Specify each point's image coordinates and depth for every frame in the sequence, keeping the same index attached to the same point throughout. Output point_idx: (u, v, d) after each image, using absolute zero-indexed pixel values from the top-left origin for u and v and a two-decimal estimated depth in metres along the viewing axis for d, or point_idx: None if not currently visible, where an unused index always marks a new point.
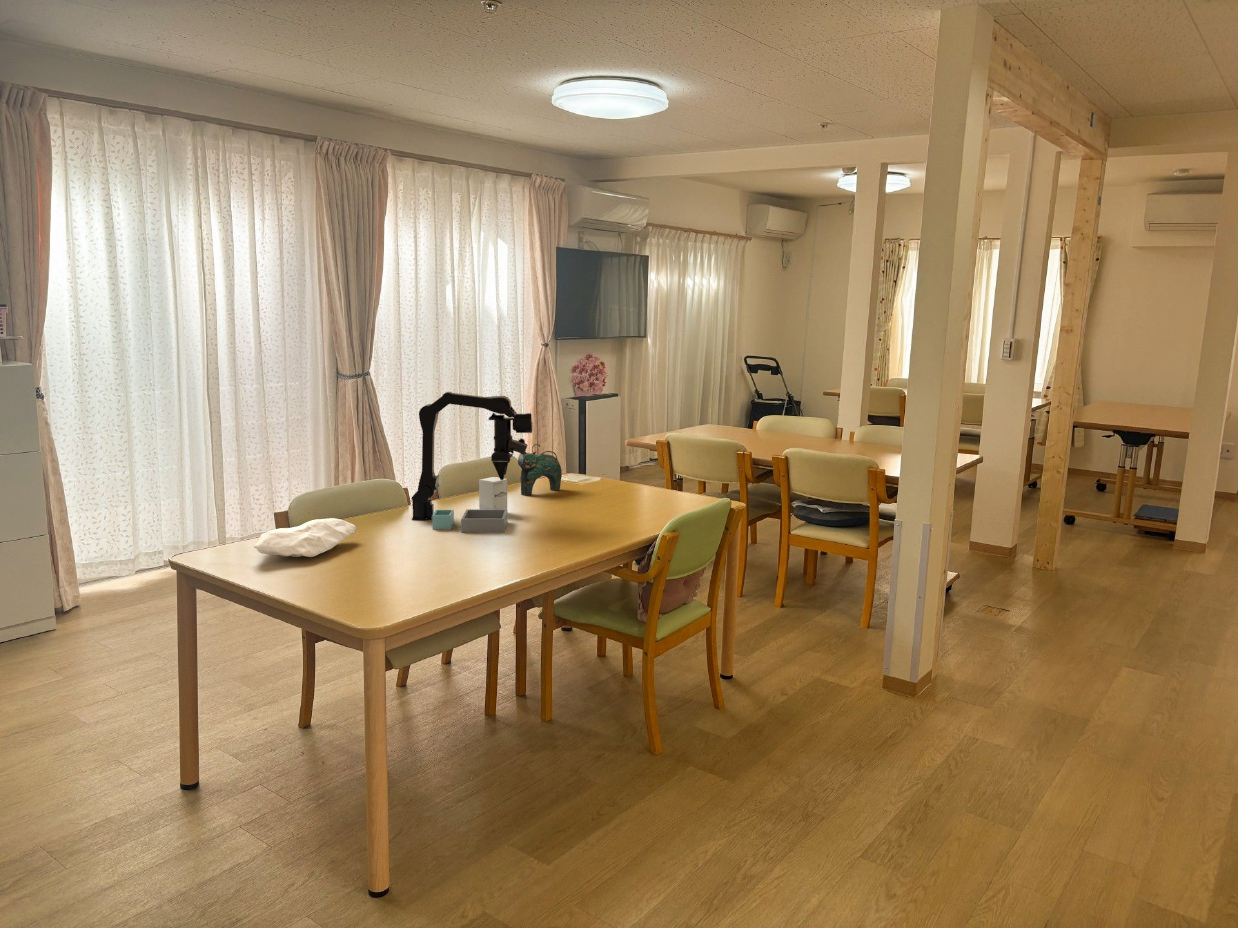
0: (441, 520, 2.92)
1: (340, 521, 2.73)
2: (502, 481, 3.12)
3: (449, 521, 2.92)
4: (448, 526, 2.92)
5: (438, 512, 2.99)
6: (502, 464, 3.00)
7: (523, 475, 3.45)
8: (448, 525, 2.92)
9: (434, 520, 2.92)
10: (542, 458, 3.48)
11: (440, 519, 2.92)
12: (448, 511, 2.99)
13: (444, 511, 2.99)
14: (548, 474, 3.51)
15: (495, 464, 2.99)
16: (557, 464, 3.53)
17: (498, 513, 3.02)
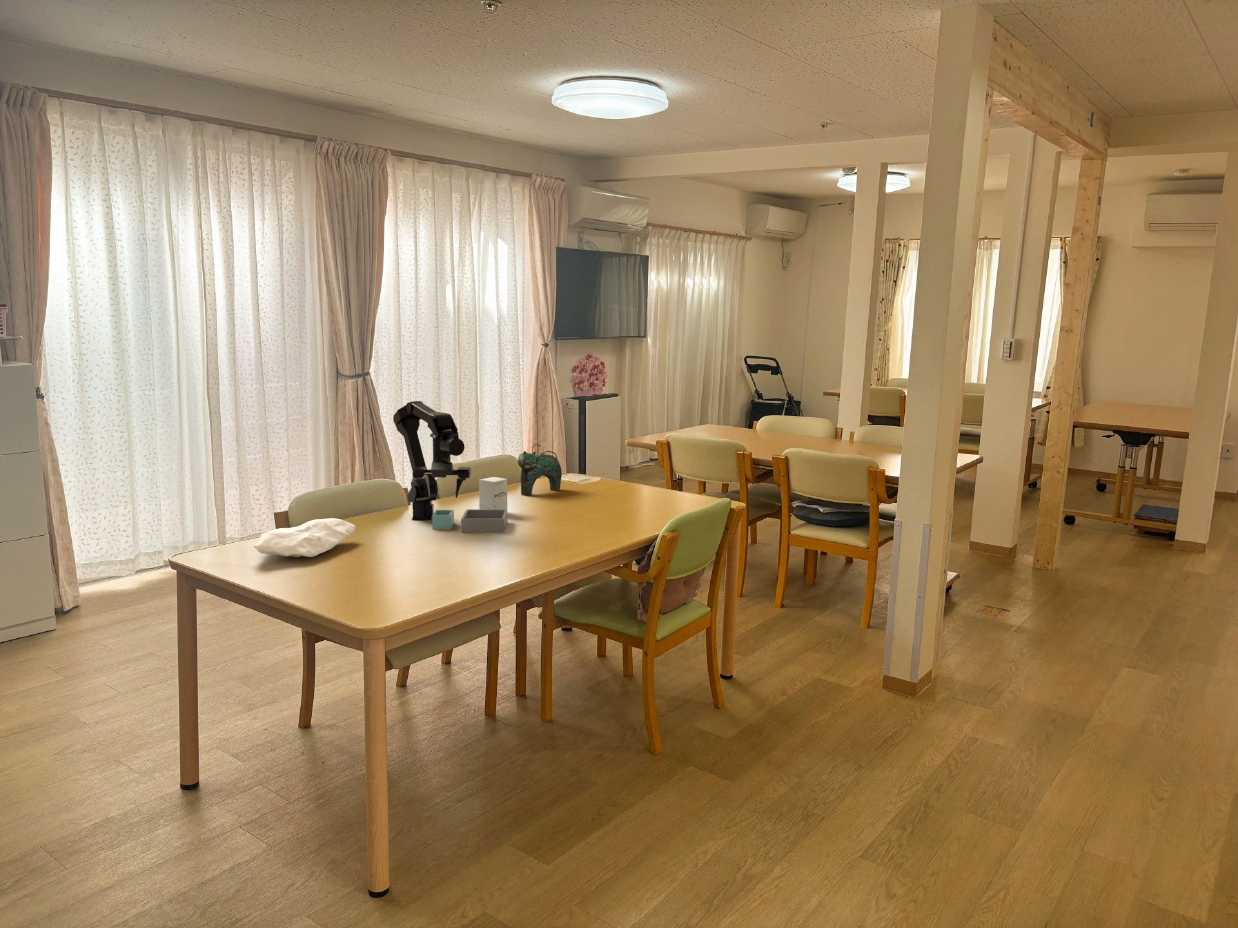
0: (441, 520, 2.92)
1: (340, 521, 2.73)
2: (502, 481, 3.12)
3: (449, 521, 2.92)
4: (448, 526, 2.92)
5: (438, 512, 2.99)
6: None
7: (523, 475, 3.45)
8: (448, 524, 2.92)
9: (434, 520, 2.92)
10: (542, 458, 3.48)
11: (440, 519, 2.92)
12: (448, 511, 2.99)
13: (444, 511, 2.99)
14: (548, 474, 3.51)
15: None
16: (557, 464, 3.53)
17: (498, 513, 3.02)
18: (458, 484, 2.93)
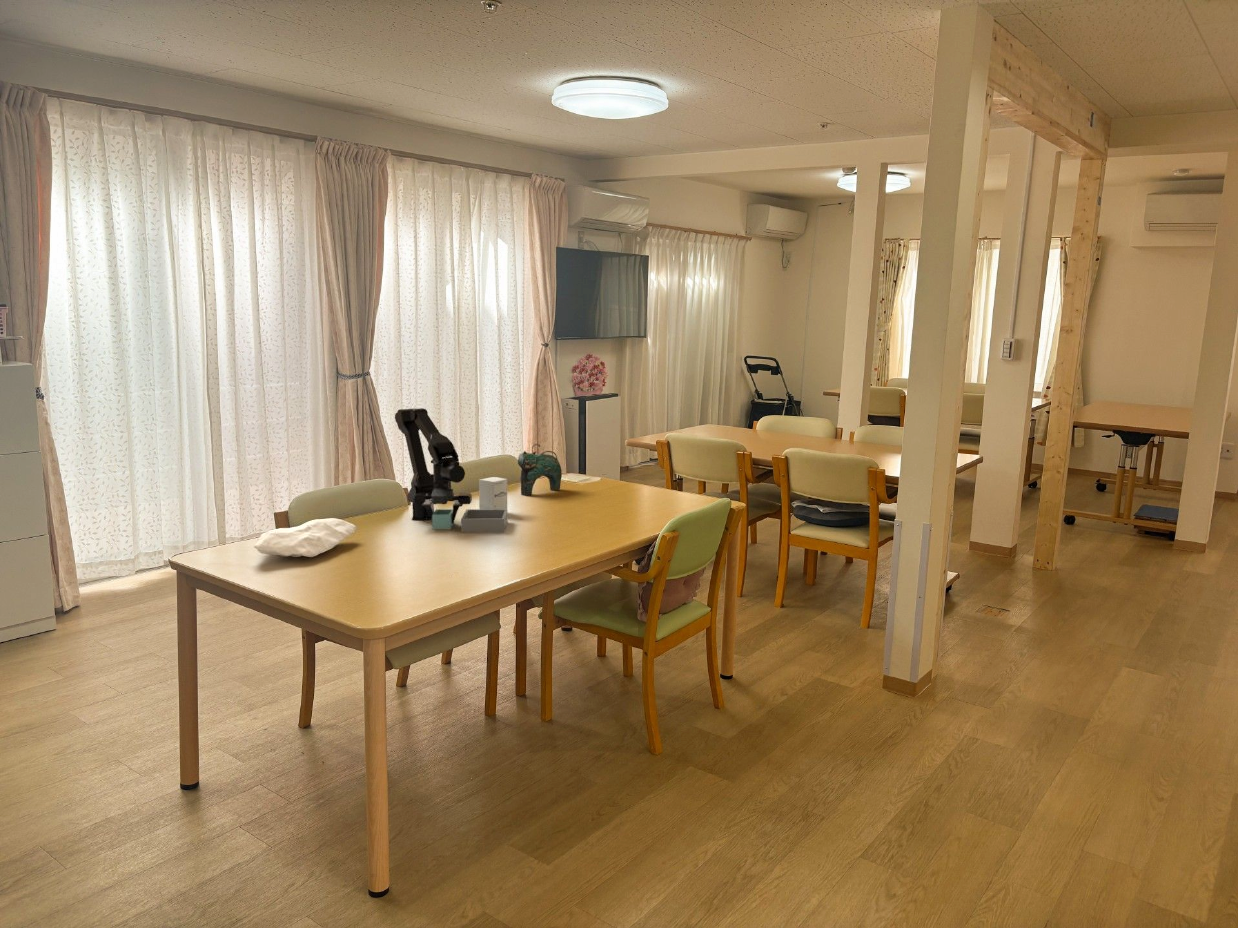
0: (441, 519, 2.92)
1: (340, 521, 2.73)
2: (502, 481, 3.13)
3: (449, 520, 2.92)
4: (448, 525, 2.92)
5: (438, 512, 2.99)
6: None
7: (523, 475, 3.45)
8: (448, 524, 2.92)
9: (434, 520, 2.92)
10: (542, 458, 3.48)
11: (440, 519, 2.92)
12: (448, 511, 2.99)
13: (444, 511, 2.99)
14: (548, 474, 3.51)
15: None
16: (557, 464, 3.53)
17: (498, 513, 3.02)
18: (454, 510, 2.94)
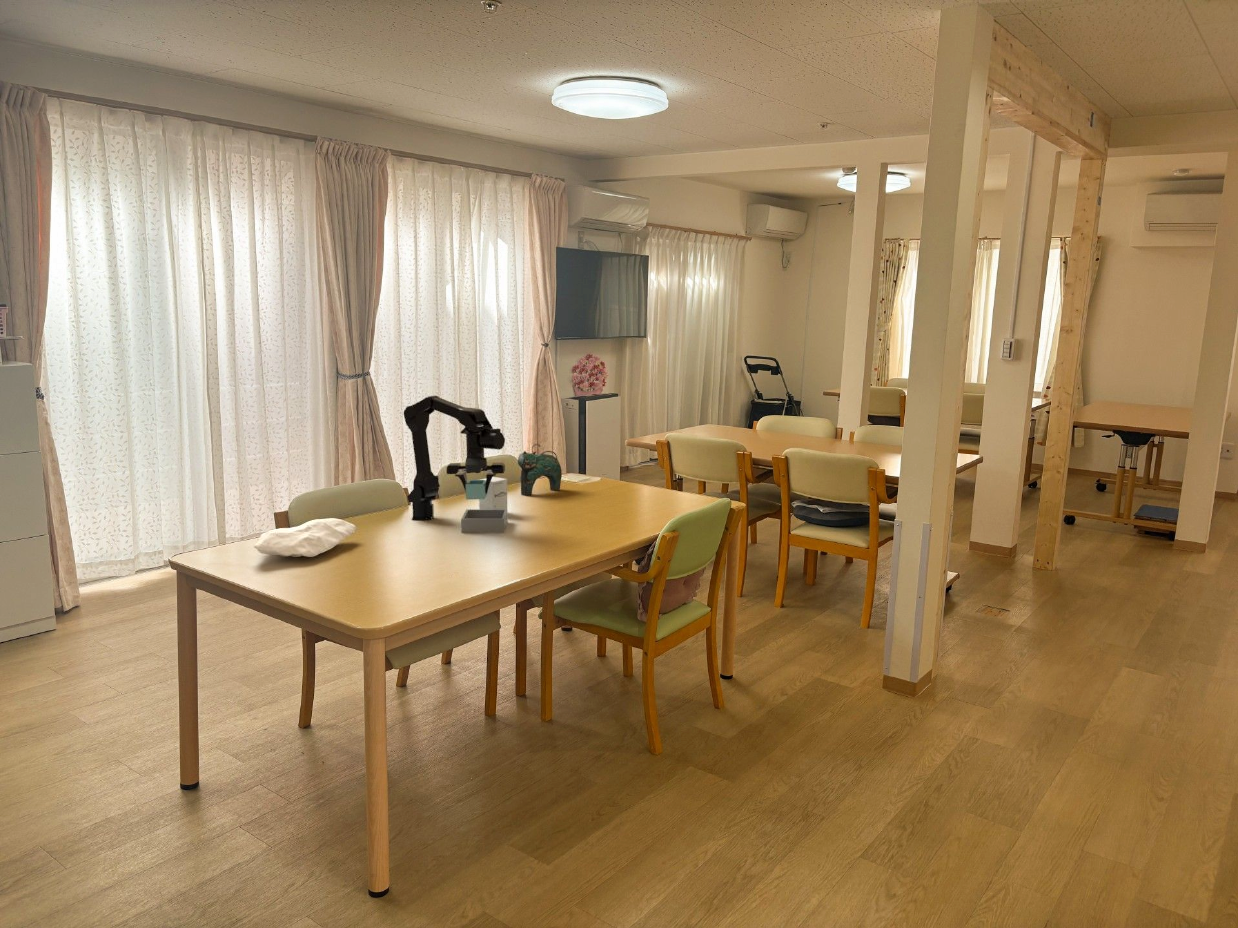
0: (474, 489, 2.90)
1: (340, 521, 2.73)
2: (502, 481, 3.12)
3: (482, 490, 2.90)
4: (482, 495, 2.90)
5: (471, 483, 2.97)
6: None
7: (523, 475, 3.45)
8: (482, 494, 2.90)
9: (467, 490, 2.90)
10: (542, 458, 3.48)
11: (473, 488, 2.89)
12: (481, 481, 2.97)
13: (477, 481, 2.97)
14: (548, 474, 3.51)
15: None
16: (557, 464, 3.53)
17: (498, 513, 3.02)
18: (488, 480, 2.92)
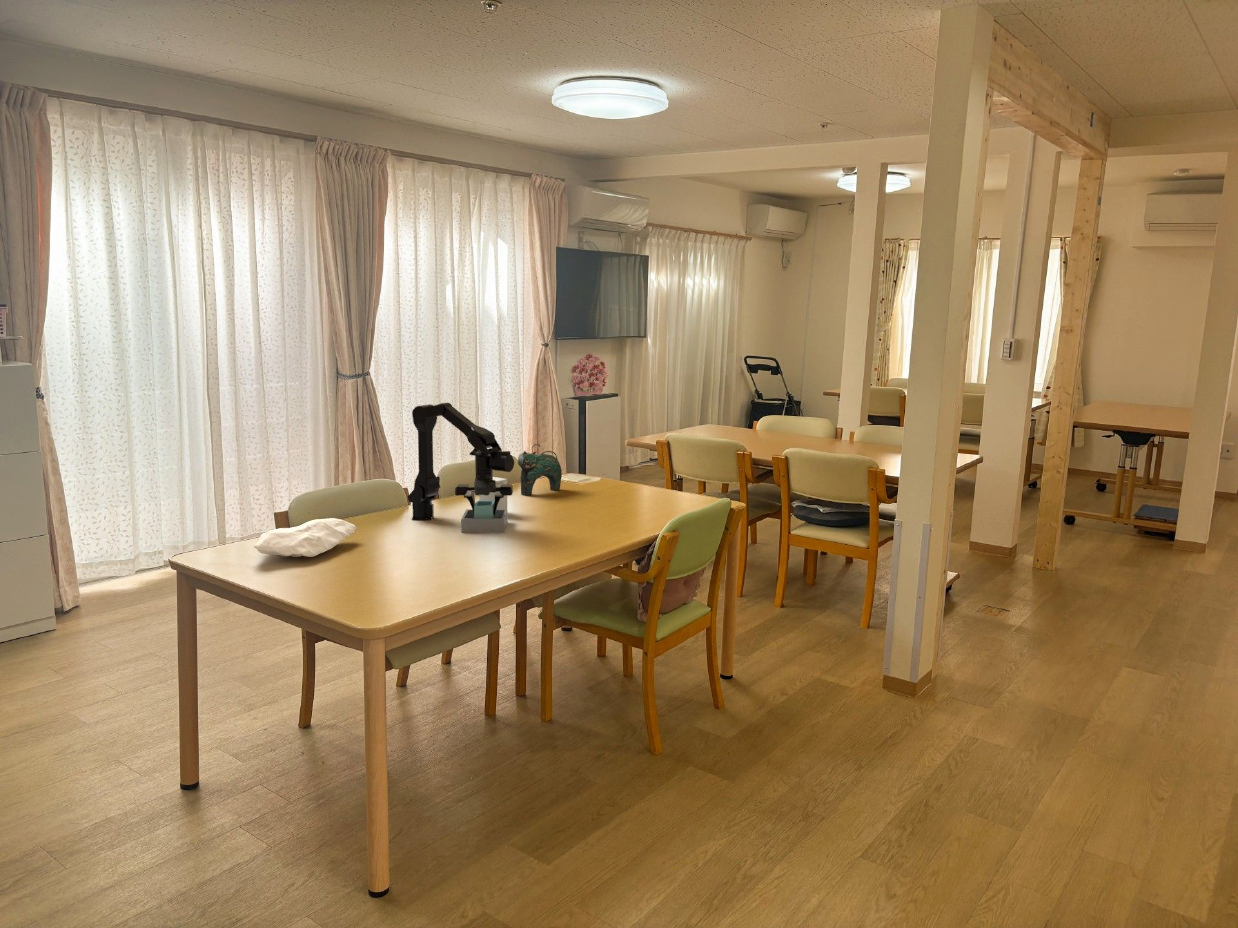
0: (483, 511, 2.91)
1: (340, 521, 2.73)
2: (502, 481, 3.12)
3: (491, 512, 2.91)
4: (490, 517, 2.92)
5: (479, 503, 2.98)
6: None
7: (523, 475, 3.45)
8: (490, 515, 2.91)
9: (476, 511, 2.91)
10: (542, 458, 3.48)
11: (482, 510, 2.91)
12: (489, 502, 2.98)
13: (485, 502, 2.98)
14: (548, 474, 3.51)
15: None
16: (557, 464, 3.53)
17: (498, 513, 3.02)
18: (496, 501, 2.93)
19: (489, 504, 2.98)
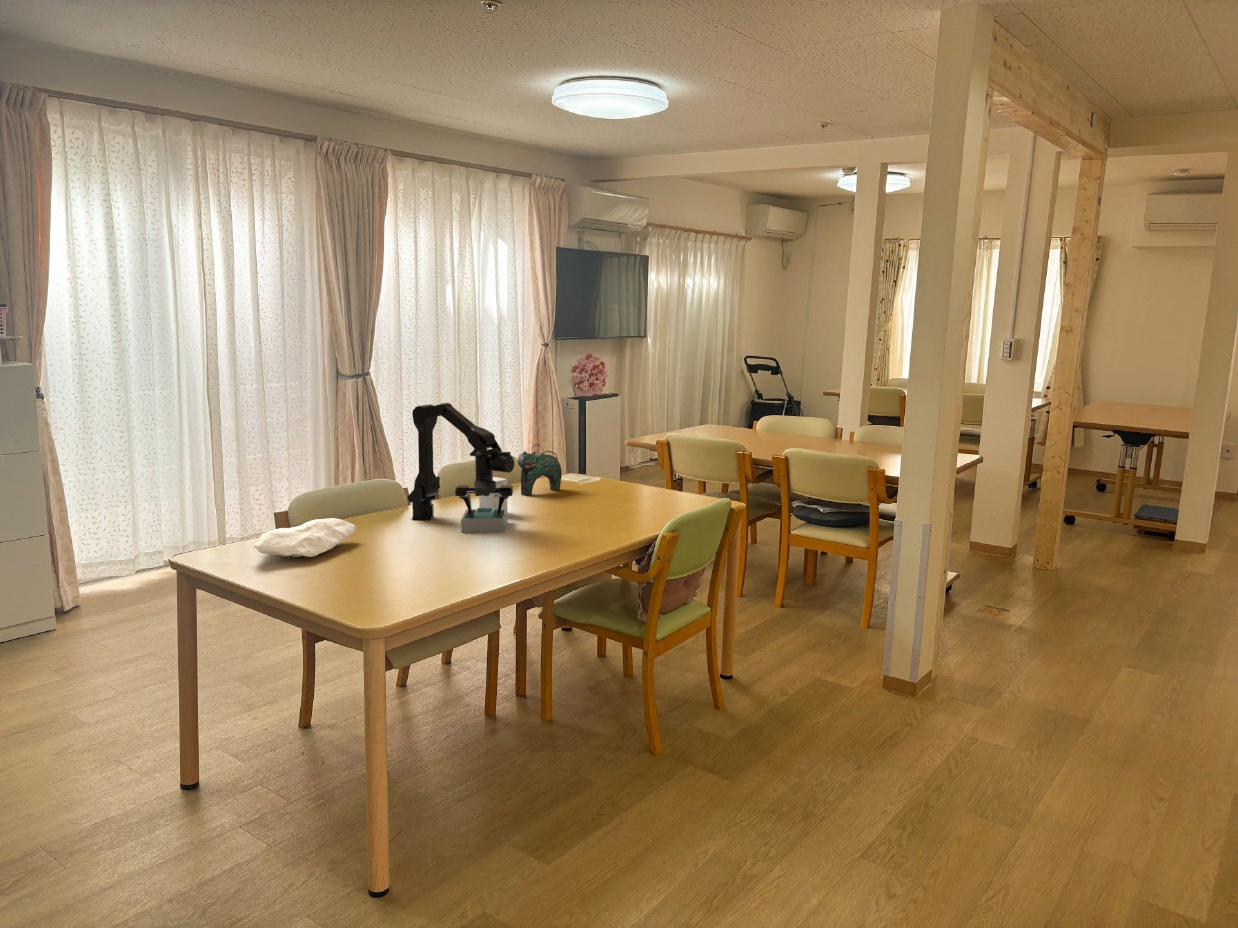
0: (483, 518, 2.91)
1: (340, 521, 2.73)
2: (502, 481, 3.12)
3: None
4: None
5: (479, 510, 2.99)
6: None
7: (523, 475, 3.45)
8: None
9: (476, 518, 2.92)
10: (542, 458, 3.48)
11: (482, 517, 2.91)
12: (489, 509, 2.99)
13: (485, 509, 2.99)
14: (548, 474, 3.51)
15: None
16: (557, 464, 3.53)
17: None
18: (500, 502, 2.94)
19: (489, 511, 2.99)
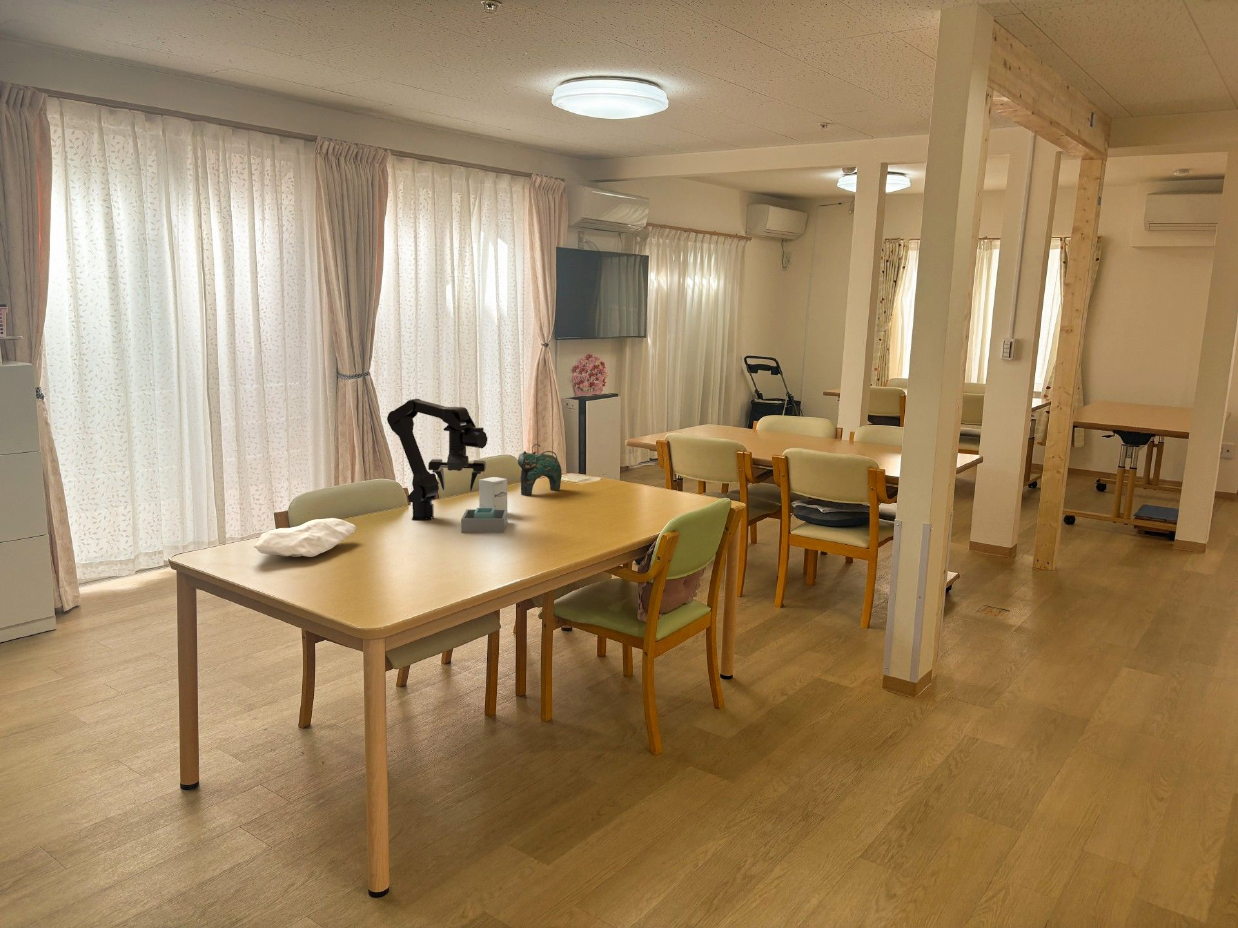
0: (483, 518, 2.91)
1: (340, 521, 2.73)
2: (502, 481, 3.12)
3: None
4: None
5: (479, 510, 2.99)
6: None
7: (523, 475, 3.45)
8: None
9: (476, 518, 2.92)
10: (542, 458, 3.48)
11: (482, 517, 2.91)
12: (489, 509, 2.99)
13: (485, 509, 2.99)
14: (548, 474, 3.51)
15: None
16: (557, 464, 3.53)
17: (498, 513, 3.02)
18: (473, 477, 2.97)
19: (489, 511, 2.99)
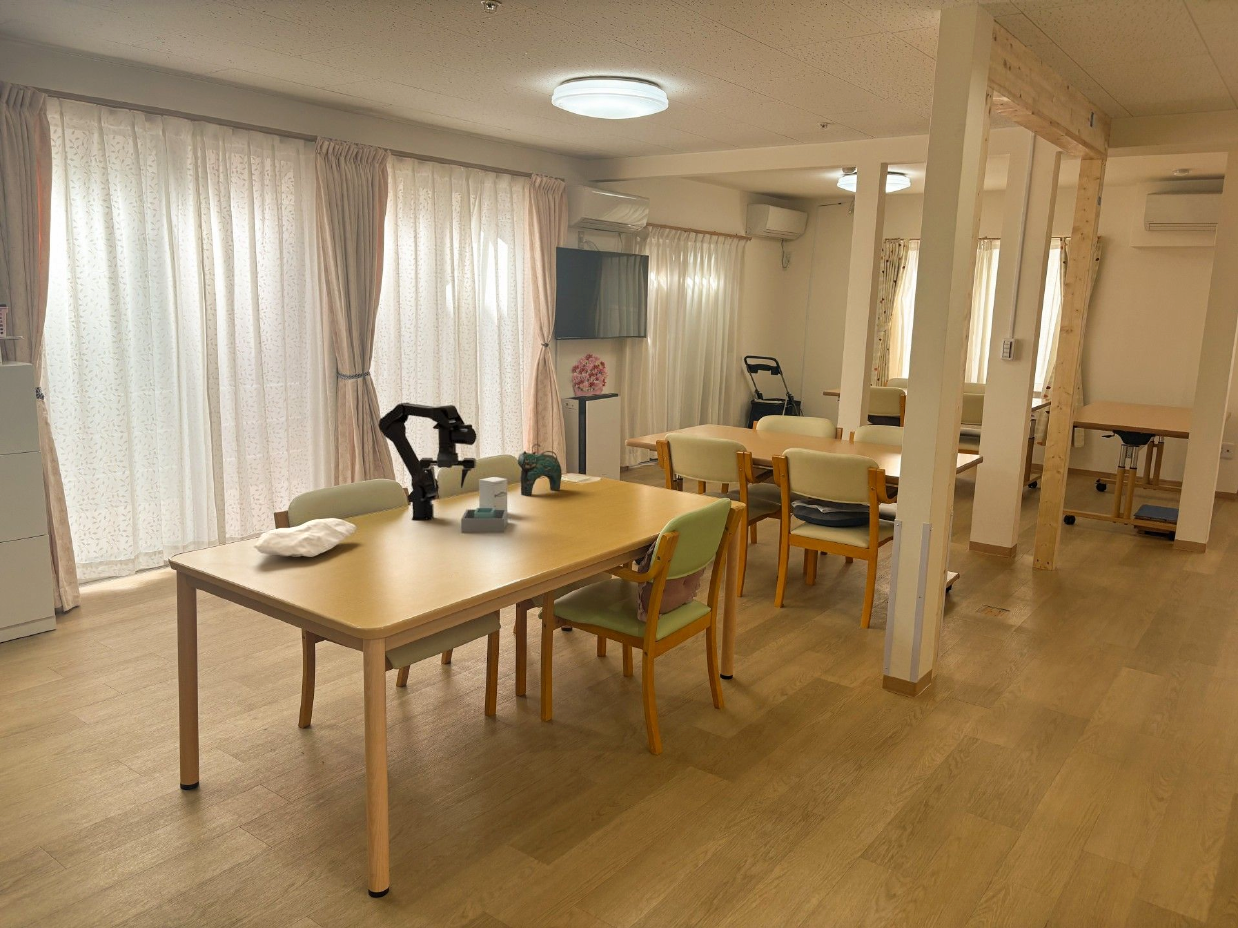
0: (483, 518, 2.91)
1: (340, 521, 2.73)
2: (502, 481, 3.12)
3: None
4: None
5: (479, 510, 2.99)
6: None
7: (523, 475, 3.45)
8: None
9: (476, 518, 2.92)
10: (542, 458, 3.48)
11: (482, 517, 2.91)
12: (489, 509, 2.99)
13: (485, 509, 2.99)
14: (548, 474, 3.51)
15: None
16: (557, 464, 3.53)
17: (498, 513, 3.02)
18: (463, 474, 2.98)
19: (489, 511, 2.99)
